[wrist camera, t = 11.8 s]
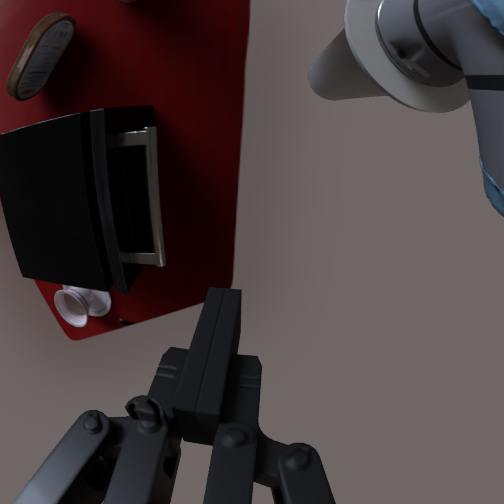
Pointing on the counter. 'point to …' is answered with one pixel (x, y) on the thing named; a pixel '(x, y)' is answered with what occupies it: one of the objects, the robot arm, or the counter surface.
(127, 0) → the soda can
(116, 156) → the oven door
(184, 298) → the counter surface
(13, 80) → the tin
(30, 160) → the oven
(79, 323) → the teacup
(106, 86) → the counter surface
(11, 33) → the counter surface
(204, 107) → the counter surface
